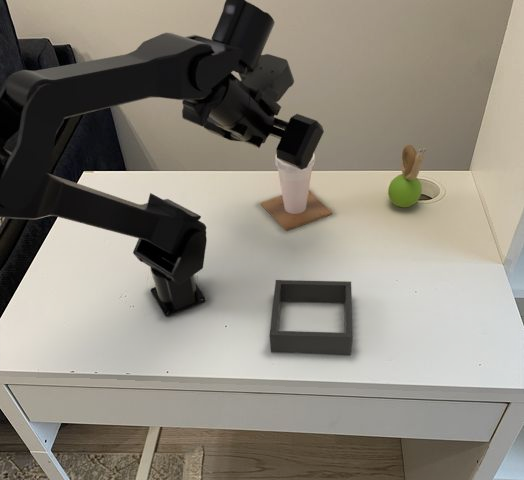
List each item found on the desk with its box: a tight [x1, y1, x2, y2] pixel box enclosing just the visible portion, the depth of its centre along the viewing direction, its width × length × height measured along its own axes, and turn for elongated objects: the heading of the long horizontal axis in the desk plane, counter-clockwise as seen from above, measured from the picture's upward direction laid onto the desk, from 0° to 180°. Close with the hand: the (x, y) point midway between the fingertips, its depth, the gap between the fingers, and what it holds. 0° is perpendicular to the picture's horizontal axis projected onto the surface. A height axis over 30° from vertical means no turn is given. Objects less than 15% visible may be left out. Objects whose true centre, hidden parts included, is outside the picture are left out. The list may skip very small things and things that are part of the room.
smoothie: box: [274, 152, 316, 214], centre depth 89 cm, size 6×6×14 cm
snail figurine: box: [387, 144, 427, 208], centre depth 89 cm, size 5×6×12 cm
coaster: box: [260, 190, 333, 232], centre depth 94 cm, size 9×9×1 cm
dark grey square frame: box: [269, 279, 354, 356], centre depth 75 cm, size 11×11×4 cm
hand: (287, 148), depth 84 cm, fingers open, 9 cm apart
